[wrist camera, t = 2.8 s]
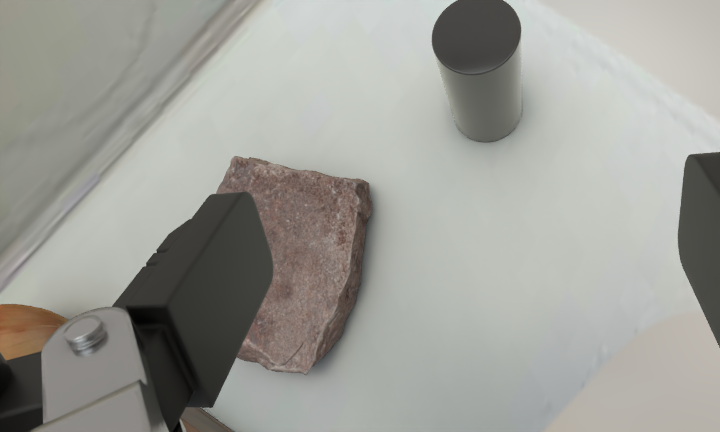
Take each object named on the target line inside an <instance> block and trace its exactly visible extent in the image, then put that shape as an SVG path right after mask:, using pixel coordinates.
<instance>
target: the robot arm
mask: <svg viewBox="0 0 720 432" xmlns="http://www.w3.org/2000/svg"><path fill="white" fill-rule="evenodd" d="M678 248H679V255H680V260H681V263H682V266H683V269H684V271H685V273H686V275H687V278H688V280H689V282H690V284H691V286H692V288H693V291H694V293H695V295H696V297H697V299H698V302H699V304H700V306H701V308H702V310H703V312H704V315H705V317H706V319H707V321H708V323H709V325H710V327H711V330H712V332H713V334H714V336H715V338H716V340H717V343H718V345H719V347H720V152H715V153H703V154H691V155H689V156H688V157H687V159H686V162H685V167H684V176H683V187H682V197H681V207H680V217H679V228H678ZM272 278H273V258H272V254H271V250H270V247H269V244H268V241H267V238H266V235H265V232H264V228H263V225H262V222H261V219H260V216H259V213H258V210H257V207H256V203H255V201H254V199H253V197H252V195H251V194H250V193H249V192H246V191H244V192H232V193H220V194H212V195H210V196H209V197H208V198H207V199H206V201H205V202H204V203H203V204H202V206H201V207H200V208H199V210H198V211H197V212H196V214H195V215H194V216H193V218H192V219H189V220H188V221H186V222H185V223H184V224H182V225H181V226H180V227H178V228H177V229H176V230H174V231H173V232H171V233H170V234H169V235H168V236H167V238H166V239H165V240H164V241H163V243H162V244H161V245H160V246H159V248H158V249H157V253H154V254H153V255H152V257H151V258H150V259H149V260H148V262H147V263H146V267H143V268H142V269H141V270H140V272H139V273H138V274H137V275H136V277H135V278H134V279H133V281H132V282H131V283H130V284H129V286H128V287H127V288H126V289H125V291H124V292H123V293H122V294H121V296H120V297H119V298H118V300H117V301H116V302H115V303H114V305H113V306H112V307H104V308H98V309H94V310H91V311H88V312H85V313H83V314H81V315H78V316H76V317H74V318H73V319H71V320H69V321H68V322H66V323H65V324H63V325H62V326H61V327H59V328H58V329H57V330H56V331H55V332H54V333H53V334H52V335H51V336H50V337H49V338H48V339H47V341H46V343H45V344H44V346H43V349H42V351H40V352H36V353H33V354H29V355H25V356H21V357H17V358H13V359H9V360H5V358H4V357H3V355H2V354H1V352H0V432H186V429H185V427H184V425H183V423H182V421H181V419H180V418H181V416H182V414H183V412H184V410H185V408H186V407H209V408H212V407H213V405H214V403H215V401H216V399H217V397H218V395H219V393H220V390H221V388H222V386H223V384H224V382H225V380H226V378H227V376H228V374H229V371H230V369H231V367H232V365H233V363H234V361H235V359H236V357H237V355H238V353H239V350H240V348H241V346H242V344H243V342H244V340H245V338H246V336H247V334H248V331H249V329H250V327H251V325H252V323H253V321H254V319H255V317H256V315H257V313H258V310H259V308H260V306H261V304H262V302H263V300H264V298H265V296H266V294H267V291H268V289H269V287H270V285H271V282H272Z"/></svg>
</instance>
